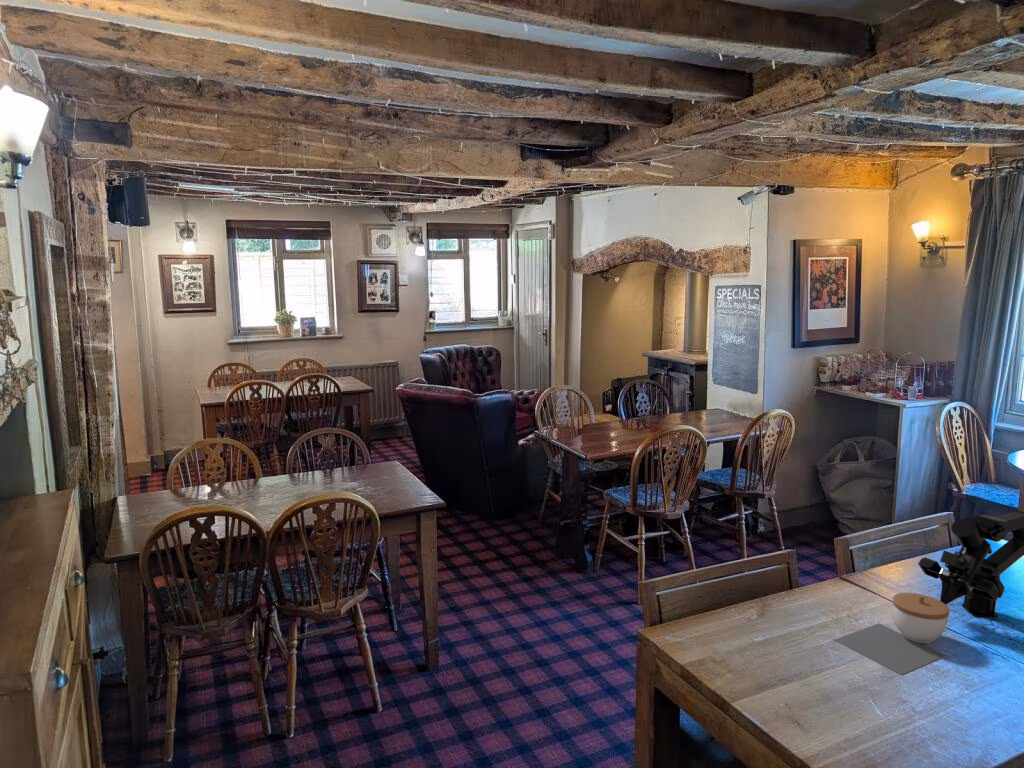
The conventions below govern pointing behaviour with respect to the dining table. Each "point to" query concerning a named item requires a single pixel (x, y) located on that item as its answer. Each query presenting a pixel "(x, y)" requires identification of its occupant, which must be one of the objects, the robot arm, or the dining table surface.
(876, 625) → the placemat
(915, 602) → the lidded bowl
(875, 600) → the dining table surface
